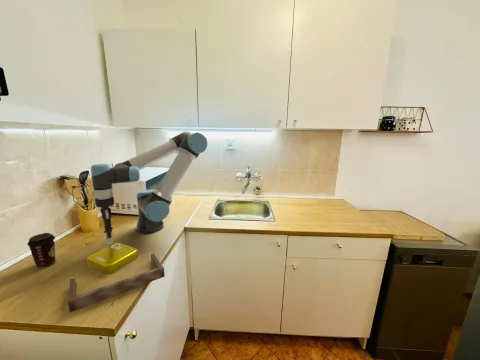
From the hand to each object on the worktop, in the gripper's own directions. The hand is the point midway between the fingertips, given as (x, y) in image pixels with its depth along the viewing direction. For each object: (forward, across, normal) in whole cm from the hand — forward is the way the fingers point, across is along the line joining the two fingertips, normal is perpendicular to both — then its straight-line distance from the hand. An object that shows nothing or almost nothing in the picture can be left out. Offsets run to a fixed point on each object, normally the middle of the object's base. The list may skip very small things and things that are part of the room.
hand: (109, 243), depth 104 cm
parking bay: (+3, +29, 0) cm, 29 cm away
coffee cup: (+3, -1, -24) cm, 24 cm away
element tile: (+4, +12, 0) cm, 13 cm away
